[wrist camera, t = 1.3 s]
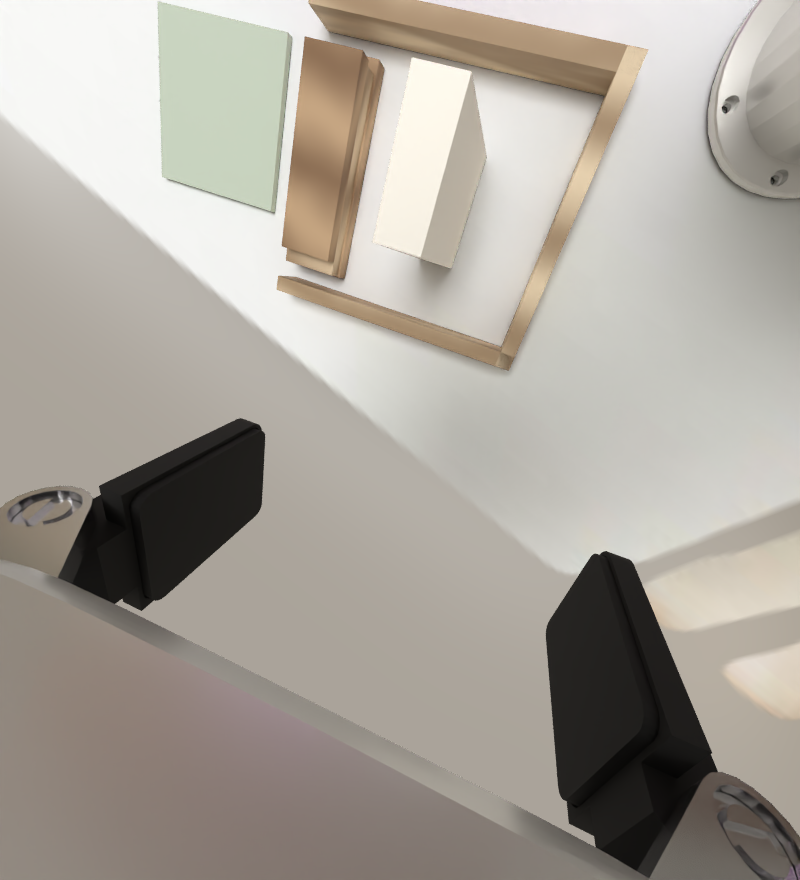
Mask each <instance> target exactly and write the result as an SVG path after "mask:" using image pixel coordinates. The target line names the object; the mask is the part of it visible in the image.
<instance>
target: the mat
mask: <svg viewBox="0 0 800 880" xmlns="http://www.w3.org/2000/svg"><path fill="white" fill-rule="evenodd" d="M158 34H159V73H160V113H161V153H162V177H164V178H167V179H170V180H173V181H177V182H180V183H183V184H186V185H189V186H192V187H195V188H199V189H202V190H205V191H208V192H211V193H214V194H218V195H221V196H224V197H227V198H230V199H233V200H236V201H240V202H243V203H246V204H249V205H252V206H255V207H258V208H262V209H265V210H268V211H271V212H274V213H275V206H276V196H277V186H278V175H279V165H280V155H281V145H282V135H283V125H284V115H285V105H286V95H287V85H288V74H289V64H290V54H291V44H292V37H291V35H290V34H289V33H288V32H284V31H280V30H276V29H271V28H267V27H263V26H259V25H255V24H250V23H246V22H242V21H238V20H234V19H229V18H225V17H221V16H217V15H213V14H208V13H204V12H200V11H196V10H192V9H188V8H183V7H179V6H175V5H171V4H167V3H162V2H158Z"/></svg>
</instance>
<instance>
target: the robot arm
mask: <svg viewBox="0 0 800 880" xmlns="http://www.w3.org/2000/svg"><path fill="white" fill-rule="evenodd" d="M723 106H725V107H727V113H726V114H725V113H724V112H723V111H722V107H723ZM708 135H709V139H710V144H711V148H712V152H713V154H714V156H715V158H716V160H717V162H718V164H719V166H720V168H721V169H722V170H723V172H724V173H725V174H726V175H727V176H728V177H729V178H730V179H731V180H732V181H733V182H734V183H736V184H737V185H739V186H740V187H742V188H744V189H745V190H747V191H749V192H752V193H755V194H758V195H762V196H765V197H772V198H783V199H791V198H800V0H759V1H758V2H757V3H756V5H755V6H754V7H753V8H752V10H751V11H750V13H749V14H748V16H747V17H746V19H745V20H744V21H743V23H742V24H741V26H740V27H739V29H738V30H737V32H736V33H735V35H734V37H733V39H732V41H731V43H730V45H729V47H728V49H727V51H726V52H725V54H724V56H723V58H722V60H721V63H720V66H719V69H718V72H717V74H716V77H715V80H714V83H713V86H712V91H711V96H710V102H709V107H708ZM771 177H773V178H774V180H775V181H774V183H773V184H771V181H770V180H771ZM264 449H265V434H264V432H263V431H262V430H261V427H260V425H258V424H255V423H253V422H250V421H247V420H244V419H241V418H240V419H237V420H235V421H233V422H230V423H228V424H226V425H224V426H222V427H220V428H218V429H216V430H214V431H212V432H210V433H208V434H206V435H203V436H201V437H199V438H197V439H195V440H193V441H191V442H189V443H187V444H185V445H183V446H181V447H179V448H177V449H175V450H173V451H171V452H169V453H166V454H164V455H162V456H160V457H158V458H156V459H154V460H152V461H150V462H148V463H146V464H143V465H142V466H139V467H137V468H135V469H133V470H131V471H129V472H127V473H125V474H123V475H121V476H119V477H117V478H115V479H113V480H110V481H108V482H106V483H104V484H102V485H100V486H99V488H100V493H101V495H100V496H98V497H96V498H94V499H93V498H92V496H91V494H90V493H89V492H88V491H86V490H84V489H82V488H77V487H73V486H56V487H47V488H42V489H38V490H34V491H30V492H28V493H25V494H22V495H20V496H17V497H15V498H14V499H12V500H10V501H8V502H7V503H5V504H4V505H3V506H2V507H1V508H0V880H800V837H799V835H798V834H797V833H796V831H795V830H794V829H793V827H792V826H791V824H790V823H789V822H788V821H787V820H786V819H785V818H784V817H783V816H782V814H781V813H780V812H779V811H778V810H777V809H776V808H775V807H774V806H773V805H772V804H771V803H770V802H769V801H768V800H766V798H764V797H763V796H762V795H761V794H760V793H758V792H757V791H756V790H755V789H754V788H753V787H751V786H749V785H748V784H746V783H744V782H743V781H741V780H740V779H738V778H737V777H734V776H731V775H729V774H726V773H723V772H718V771H717V768H716V766H715V764H714V761H713V759H712V756H711V753H712V752H711V749H710V747H709V744H708V742H707V740H706V737H705V735H704V733H703V730H702V727H701V725H700V723H699V720H698V718H697V715H696V713H695V711H694V708H693V706H692V703H691V701H690V699H689V696H688V694H687V692H686V689H685V687H684V684H683V682H682V679H681V677H680V675H679V672H678V670H677V667H676V665H675V663H674V660H673V658H672V656H671V653H670V651H669V648H668V646H667V643H666V641H665V639H664V636H663V634H662V631H661V629H660V627H659V624H658V622H657V619H656V617H655V615H654V612H653V610H652V607H651V605H650V602H649V600H648V598H647V595H646V593H645V590H644V588H643V586H642V583H641V581H640V578H639V576H638V574H637V571H636V569H635V566H634V564H633V563H632V561H631V560H629V559H626V558H623V557H621V556H618V555H615V554H612V553H610V552H607V551H604V552H602V553H601V554H600V555H598V554H593V555H592V556H591V557H590V559H589V560H588V562H587V563H586V565H585V567H584V568H583V570H582V571H581V573H580V574H579V576H578V577H577V579H576V580H575V582H574V584H573V585H572V587H571V588H570V590H569V591H568V593H567V594H566V596H565V598H564V599H563V601H562V602H561V604H560V605H559V607H558V608H557V610H556V611H555V613H554V614H553V616H552V617H551V619H550V621H549V622H548V625H547V629H546V642H547V655H548V668H549V680H550V692H551V704H552V717H553V729H554V741H555V754H556V766H557V777H558V788H559V793H560V796H561V797H562V799H563V800H565V801H567V808H568V818H569V824H571V825H573V826H575V827H577V828H579V829H581V830H583V831H585V832H587V833H589V834H591V835H593V836H594V838H595V845H596V847H594V846H592V845H590V844H588V843H586V842H584V841H583V840H581V839H578V838H577V837H575V836H573V835H571V834H569V833H567V832H566V831H564V830H562V829H560V828H558V827H556V826H554V825H552V824H550V823H549V822H547V821H545V820H543V819H541V818H539V817H537V816H535V815H533V814H531V813H530V812H528V811H526V810H524V809H522V808H520V807H518V806H516V805H515V804H513V803H511V802H509V801H507V800H505V799H503V798H501V797H499V796H497V795H495V794H493V793H491V792H489V791H487V790H485V789H484V788H482V787H480V786H478V785H476V784H473V783H472V782H470V781H468V780H466V779H464V778H462V777H460V776H458V775H456V774H454V773H452V772H450V771H448V770H446V769H444V768H442V767H440V766H438V765H436V764H434V763H432V762H430V761H428V760H426V759H424V758H422V757H420V756H419V755H416V754H415V753H413V752H410V751H409V750H407V749H405V748H403V747H401V746H399V745H397V744H395V743H393V742H391V741H389V740H387V739H385V738H383V737H381V736H379V735H377V734H375V733H373V732H371V731H369V730H367V729H365V728H363V727H361V726H359V725H357V724H355V723H353V722H351V721H349V720H347V719H345V718H343V717H341V716H339V715H337V714H335V713H333V712H331V711H329V710H327V709H325V708H323V707H321V706H319V705H317V704H315V703H313V702H311V701H309V700H307V699H305V698H303V697H301V696H299V695H297V694H295V693H293V692H291V691H289V690H287V689H285V688H283V687H281V686H279V685H277V684H275V683H273V682H271V681H269V680H267V679H265V678H263V677H261V676H259V675H257V674H255V673H253V672H251V671H249V670H247V669H245V668H243V667H241V666H239V665H237V664H235V663H233V662H231V661H229V660H227V659H225V658H223V657H221V656H219V655H217V654H215V653H213V652H211V651H209V650H207V649H205V648H203V647H201V646H199V645H197V644H195V643H193V642H191V641H189V640H187V639H185V638H183V637H181V636H179V635H177V634H175V633H173V632H171V631H168V630H167V629H165V628H162V627H161V626H158V625H156V624H154V623H152V622H150V621H148V620H146V619H144V618H142V617H140V616H138V615H136V614H134V613H132V612H130V611H128V610H126V609H124V608H122V607H120V606H118V605H115V603H117V602H118V601H119V600H121V599H122V598H123V602H125V603H127V604H129V605H131V606H133V607H135V608H137V609H139V610H141V611H142V610H143V609H144V608H146V607H147V606H148V605H149V604H150V603H151V602H152V601H154V600H155V601H156V600H160V599H162V598H163V597H165V596H166V595H167V594H168V593H169V592H170V591H171V590H173V589H174V588H175V587H176V586H177V585H178V584H179V583H180V582H182V581H183V580H184V579H185V578H186V577H187V576H188V575H189V574H191V573H192V572H193V571H194V570H195V569H196V568H197V567H198V566H200V565H201V564H202V563H203V562H204V561H205V560H206V559H207V558H208V557H210V556H211V555H212V554H213V553H214V552H215V551H216V550H218V549H219V548H220V547H221V546H222V545H223V544H224V543H226V542H227V541H228V540H229V539H230V538H231V537H232V536H233V535H234V534H235V533H237V532H238V531H239V530H240V529H241V528H242V527H243V526H245V525H246V524H247V523H248V522H249V521H250V520H251V519H253V518H254V517H255V516H256V515H257V514H258V512H259V510H260V508H261V505H262V489H263V470H264Z"/></svg>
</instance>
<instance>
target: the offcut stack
mask: <svg viewBox="0 0 800 880" xmlns="http://www.w3.org/2000/svg"><path fill="white" fill-rule="evenodd" d="M383 74H384V67H383V65H382V64H381V62H380V60H379V59H375V58H371V57H367V56H366V55H365V53H364V52H363V50H359V49H355V48H351V47H347V46H343V45H338V44H334V43H330V42H326V41H322V40H318V39H313V38H309V37H305V40H304V49H303V58H302V67H301V76H300V85H299V94H298V104H297V113H296V122H295V131H294V140H293V149H292V158H291V167H290V176H289V185H288V194H287V203H286V212H285V221H284V230H283V239H282V246H283V247H286V248H287V255H286V261H289V262H292V263H295V264H298V265H301V266H304V267H307V268H310V269H313V270H316V271H319V272H322V273H325V274H328V275H331V276H335V277H338V278H345V273H346V268H347V263H348V258H349V252H350V247H351V242H352V237H353V231H354V226H355V221H356V216H357V210H358V205H359V200H360V195H361V189H362V184H363V179H364V174H365V168H366V163H367V158H368V153H369V147H370V142H371V137H372V132H373V126H374V121H375V116H376V111H377V105H378V100H379V95H380V90H381V84H382V79H383Z"/></svg>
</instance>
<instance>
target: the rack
mask: <svg viewBox="0 0 800 880" xmlns="http://www.w3.org/2000/svg"><path fill="white" fill-rule="evenodd" d="M309 4H310V6H311V7H312V9H313V10H314V12H315V13H316V14H317V16H318V17H319V19H320V20H321V22H322V23H323V24H324V26H325V27H326V29H327V30H328V31H329V32H333V33H337V34H342V35H346V36H350V37H355V38H359V39H363V40H367V41H372V42H376V43H380V44H385V45H389V46H393V47H397V48H402V49H406V50H410V51H414V52H419V53H423V54H427V55H432V56H436V57H440V58H444V59H449V60H453V61H457V62H462V63H466V64H470V65H474V66H479V67H483V68H487V69H491V70H496V71H500V72H504V73H509V74H513V75H517V76H521V77H526V78H530V79H534V80H539V81H543V82H547V83H551V84H556V85H560V86H564V87H568V88H573V89H577V90H581V91H586V92H590V93H594V94H598V95H603V96H605V97H604V99H603V102H602V104H601V107H600V109H599V112H598V114H597V116H596V119H595V121H594V124H593V126H592V129H591V131H590V133H589V136H588V138H587V141H586V143H585V146H584V148H583V150H582V153H581V155H580V158H579V160H578V163H577V165H576V167H575V170H574V172H573V175H572V177H571V180H570V182H569V184H568V187H567V189H566V192H565V194H564V197H563V199H562V201H561V204H560V206H559V209H558V211H557V213H556V216H555V218H554V221H553V223H552V226H551V228H550V230H549V233H548V235H547V238H546V240H545V243H544V245H543V247H542V250H541V252H540V255H539V257H538V260H537V262H536V264H535V267H534V269H533V272H532V274H531V277H530V279H529V281H528V284H527V286H526V289H525V291H524V294H523V296H522V298H521V301H520V303H519V306H518V308H517V311H516V313H515V315H514V318H513V320H512V323H511V325H510V328H509V330H508V332H507V335H506V337H505V340H504V342H503V344H502V347H499V346H497V345H494V344H491V343H488V342H485V341H482V340H479V339H476V338H473V337H470V336H467V335H464V334H461V333H459V332H456V331H453V330H450V329H447V328H444V327H441V326H438V325H435V324H432V323H429V322H426V321H423V320H421V319H418V318H415V317H412V316H409V315H406V314H403V313H400V312H397V311H394V310H391V309H388V308H385V307H383V306H380V305H377V304H374V303H371V302H368V301H365V300H362V299H359V298H356V297H353V296H350V295H347V294H345V293H342V292H339V291H336V290H333V289H330V288H327V287H324V286H321V285H318V284H315V283H312V282H309V281H307V280H304V279H301V278H298V277H289V276H278V283H277V290H279V291H282V292H285V293H288V294H291V295H294V296H296V297H299V298H302V299H305V300H308V301H311V302H313V303H316V304H319V305H322V306H325V307H328V308H331V309H333V310H336V311H339V312H342V313H345V314H348V315H351V316H353V317H356V318H359V319H362V320H365V321H368V322H371V323H373V324H376V325H379V326H382V327H385V328H388V329H391V330H393V331H396V332H399V333H402V334H405V335H408V336H411V337H413V338H416V339H419V340H422V341H425V342H428V343H431V344H433V345H436V346H439V347H442V348H445V349H448V350H450V351H453V352H456V353H459V354H462V355H465V356H468V357H470V358H473V359H476V360H479V361H482V362H485V363H488V364H490V365H493V366H496V367H499V368H502V369H505V370H508V371H509V369H510V367H511V364H512V362H513V360H514V357H515V355H516V353H517V351H518V348H519V346H520V344H521V341H522V339H523V337H524V334H525V332H526V330H527V328H528V325H529V323H530V321H531V318H532V316H533V314H534V311H535V309H536V307H537V305H538V302H539V300H540V298H541V295H542V293H543V291H544V288H545V286H546V284H547V282H548V279H549V277H550V275H551V272H552V270H553V268H554V265H555V263H556V261H557V259H558V256H559V254H560V252H561V249H562V247H563V245H564V242H565V240H566V238H567V236H568V233H569V231H570V229H571V226H572V224H573V222H574V220H575V217H576V215H577V213H578V210H579V208H580V206H581V203H582V201H583V199H584V197H585V194H586V192H587V190H588V187H589V185H590V183H591V180H592V178H593V176H594V174H595V171H596V169H597V167H598V164H599V162H600V160H601V157H602V155H603V153H604V151H605V148H606V146H607V144H608V141H609V139H610V137H611V134H612V132H613V130H614V128H615V125H616V123H617V121H618V118H619V116H620V114H621V112H622V109H623V107H624V105H625V102H626V100H627V98H628V95H629V93H630V91H631V89H632V86H633V84H634V82H635V79H636V77H637V75H638V72H639V70H640V68H641V66H642V63H643V61H644V59H645V56H646V54H647V52H648V49H644V48H639V47H635V46H630V45H625V44H620V43H616V42H611V41H606V40H602V39H597V38H592V37H588V36H583V35H578V34H573V33H569V32H564V31H559V30H555V29H550V28H545V27H540V26H536V25H531V24H526V23H522V22H517V21H512V20H508V19H503V18H498V17H493V16H489V15H484V14H479V13H475V12H470V11H465V10H461V9H456V8H451V7H446V6H442V5H437V4H432V3H428V2H423V1H418V0H309Z"/></svg>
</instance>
